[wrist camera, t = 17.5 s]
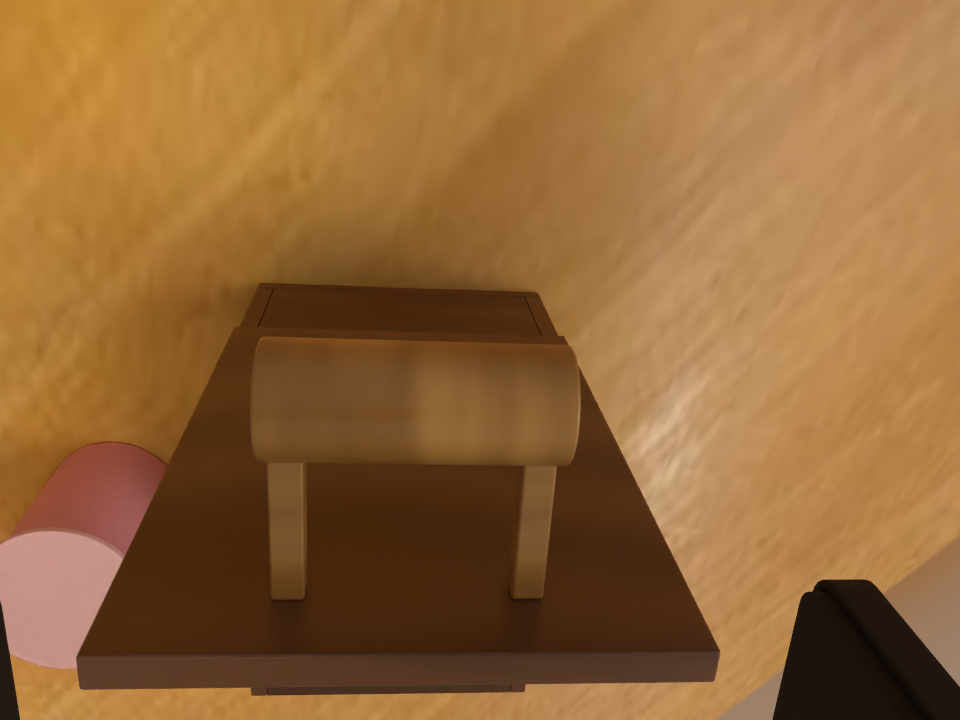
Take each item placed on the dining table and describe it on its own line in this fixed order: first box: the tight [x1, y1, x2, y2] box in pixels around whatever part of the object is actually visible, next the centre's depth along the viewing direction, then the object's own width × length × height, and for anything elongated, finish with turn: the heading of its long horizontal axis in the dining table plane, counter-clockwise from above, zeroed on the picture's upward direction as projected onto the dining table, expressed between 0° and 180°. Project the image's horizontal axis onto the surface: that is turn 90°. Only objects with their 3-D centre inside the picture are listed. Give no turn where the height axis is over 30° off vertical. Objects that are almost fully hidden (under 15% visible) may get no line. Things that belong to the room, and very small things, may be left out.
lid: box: [76, 327, 720, 690], centre depth 25 cm, size 18×12×6 cm
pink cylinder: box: [0, 442, 167, 669], centre depth 39 cm, size 7×7×8 cm
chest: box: [240, 283, 558, 696], centre depth 41 cm, size 17×12×6 cm
